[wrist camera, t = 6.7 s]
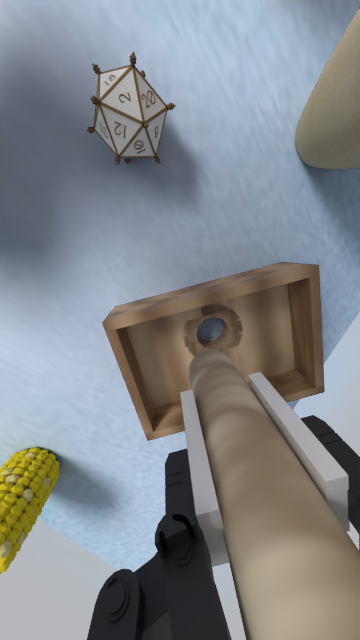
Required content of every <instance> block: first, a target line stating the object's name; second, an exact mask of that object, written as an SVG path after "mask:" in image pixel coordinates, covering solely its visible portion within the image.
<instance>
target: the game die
mask: <svg viewBox="0 0 360 640" xmlns="http://www.w3.org/2000/svg"><path fill="white" fill-rule="evenodd" d="M130 61H131V65H128V66H125V67H121V68H117V69H113V70H109V71H106V72H102V73H101V72H100V70H99V69H100V68H98V65H95V64H93V63H92V65H93V70H94V71H95V73H96V74H98V86H97V97H95V96H93V97H92V98H91V100H92V102H93V104H95V105H96V108H95V118H94V127H88V130H87V132H89V133H91V134H92V133H94V131H96V132H97V134H98V135H99V136H100V137H101V138H102V139H103V141H104V142H105V143H106V144H107V145H108V146H109V147H110V149H111V150H112V151H113V152H114V153H115V154H116V156H117V157H116V158H115V162H116V165H118V164H119V163H120V158H126V159H125V162H126V163H127V164H128V163H129V162H130V161H129V160H130V159H129V158H155V161H156V163H159V164H161V162H160V159H159V157H157V151H158V147H159V143H160V139H161V135H162V130H163V126H164V122H165V118H166V114H167V110H171V109H172V110H173V108H174V107H175V106H176V105H174V104H172V102H171V103H170V104H168V105H166V104H165V103H164V102H163V100H162V99H161V98H160V97H159V95H158V94H157V93H156V92H155V90H154V89H153V88H152V87H151V86H150V84H149V83H148V82H147V81H146V79H145V78H144V77H145V73H144V71H141V73H140V72H139V71H138V69H137V68H136V67H135V64H136V57H135V53H134V51H133V53H132V55H131V56H130Z"/></svg>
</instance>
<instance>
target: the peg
mask: <svg viewBox="0 0 360 640" xmlns="http://www.w3.org/2000/svg"><path fill="white" fill-rule="evenodd" d="M188 374H189V379H190V384H191V388H192V390H193V394H194V398H195V402H196V406H197V411H198V415H199V420H200V424H201V429H202V433H203V437H204V442H205V446H206V451H207V455H208V460H209V464H210V468H211V473H212V477H213V482H214V486H215V491H216V495H217V499H218V504H219V508H220V513H221V517H222V522H223V526H224V528H223V534H224V540H225V544H226V549H227V553H228V558H229V562H230V567H231V572H232V576H233V580H234V585H235V589H236V594H237V599H238V603H239V608H240V613H241V617H242V622H243V626H244V631H245V635H246V640H360V552H359V550H358V549H357V547H356V546H355V544H354V543H353V541H352V540H351V538H350V537H349V535H348V534H347V532H346V531H345V529H344V528H343V526H342V525H341V523H340V522H339V520H338V519H337V517H336V516H335V514H334V513H333V511H332V510H331V508H330V507H329V505H328V504H327V502H326V501H325V499H324V498H323V496H322V495H321V493H320V492H319V490H318V489H317V487H316V486H315V484H314V483H313V481H312V480H311V478H310V477H309V475H308V474H307V472H306V471H305V469H304V468H303V466H302V465H301V463H300V462H299V460H298V459H297V457H296V456H295V454H294V453H293V451H292V450H291V448H290V447H289V445H288V444H287V442H286V441H285V439H284V438H283V436H282V435H281V433H280V432H279V430H278V429H277V427H276V426H275V424H274V423H273V421H272V420H271V418H270V417H269V415H268V414H267V413H266V411H265V410H264V408H263V407H262V405H261V404H260V402H259V401H258V399H257V398H256V396H255V395H254V393H253V392H252V390H251V389H250V387H249V386H248V384H247V383H246V381H245V380H244V378H243V377H242V375H241V374H240V372H239V371H238V369H237V368H236V366H235V365H234V363H233V362H232V360H231V359H230V357H229V356H228V355H227V354H226V353H224V352H222V351H219V350H206V351H203V352H201V353H199V354H198V355H196V356H195V357H194V358H193V360H192V361H191V363H190V365H189V369H188Z"/></svg>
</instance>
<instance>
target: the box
mask: <svg viewBox="0 0 360 640" xmlns="http://www.w3.org/2000/svg"><path fill="white" fill-rule="evenodd" d="M213 317H216V318H220V319H223V323H224V329H223V332H222V334H221V335H220V336H219V337H218V338H217V339H216V340H213V341H209V342H206V341H202V340H200V339H199V338H198V337H197V336H196V333H197V329H198V326H199V325H200V324H201V323H202V322H203V321H204V320H205V319H209V318H213ZM102 324H103V326H104V329H105V331H106V334H107V337H108V339H109V342H110V344H111V347H112V350H113V352H114V355H115V357H116V360H117V363H118V365H119V368H120V370H121V373H122V376H123V378H124V381H125V383H126V386H127V389H128V391H129V394H130V396H131V399H132V402H133V404H134V407H135V409H136V412H137V415H138V417H139V420H140V422H141V425H142V428H143V430H144V433H145V435H146V438H147V440H148V441H149V440H153V439H156V438H160V437H164V436H167V435H171V434H174V433H178V432H182V431H185V426H184V418H183V411H182V403H181V395H180V392H184V391H188V390H192V388H191V384H190V379H189V374H188V369H189V365H190V363H191V361H192V360H193V358H194V357H195V356H196V355H198V354H199V353H201V352H203V351H206V350H219V351H222V352H224V353H226V354H227V355H228V356H229V357H230V359H231V360H232V362H233V363H234V365H235V366H236V368H237V369H238V371H239V372H240V374H241V375H242V377H243V378H244V380H245V381H246V383H247V384H248V386H249V387H250V382H249V376H248V375H250V374H254V373H258V372H261V373H262V374H263V376H264V377H265V378H266V379H267V380H268V382H269V383H270V384H271V385H272V386H273V387H274V389H275V390H276V391H277V392H278V393H279V394H280V396H281V397H282V398H283V399H284V400H285V402H286V403H287V402H290V401H294V400H297V399H301V398H305V397H308V396H312V395H316V394H319V393H323V392H324V369H323V346H322V323H321V300H320V277H319V265H314V264H300V263H287V262H281V263H277V264H273V265H270V266H266V267H262V268H258V269H255V270H251V271H247V272H243V273H240V274H236V275H232V276H228V277H224V278H221V279H217V280H213V281H209V282H206V283H202V284H198V285H194V286H191V287H187V288H183V289H179V290H176V291H172V292H168V293H164V294H161V295H157V296H153V297H149V298H145V299H142V300H138V301H134V302H130V303H127V304H123V305H119V306H115V307H114V309H113V310H112V311H111V312H110V314H109V315H108V316H107V317H106V319H105V320H104V321H103V322H102ZM250 389H251V388H250Z"/></svg>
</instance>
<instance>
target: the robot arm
mask: <svg viewBox="0 0 360 640" xmlns="http://www.w3.org/2000/svg"><path fill="white" fill-rule="evenodd" d="M248 376H249V382H250V388H251V390H252V392H253V393H254V395H255V396H256V398H257V399H258V401H259V402H260V404H261V405H262V407H263V408H264V410H265V411H266V413H267V414H268V415H269V417H270V418H271V420H272V421H273V423H274V424H275V426H276V427H277V429H278V430H279V432H280V433H281V435H282V436H283V438H284V439H285V441H286V442H287V444H288V445H289V447H290V448H291V450H292V451H293V453H294V454H295V456H296V457H297V459H298V460H299V462H300V463H301V465H302V466H303V468H304V469H305V471H306V472H307V474H308V475H309V477H310V478H311V480H312V481H313V483H314V484H315V486H316V487H317V489H318V490H319V492H320V493H321V495H322V496H323V498H324V499H325V501H326V502H327V504H328V505H329V507H330V508H331V510H332V511H333V513H334V514H335V516H336V517H337V519H338V520H339V522H340V523H341V525H342V526H343V528H344V529H345V531H346V532H347V531H349V521H350V522H351V523H352V525H353V526H354V528H355V529H356V530H357V532H358V533H359V543H360V457H359V456H358V455H357V454H356V453H355V452H354V451H353V450H352V449H351V448H350V447H349V446H348V445H347V444H346V443H345V442H344V441H343V440H342V439H341V437H340V436H339V435H338V434H337V433H335V432H334V430H333V429H332V428H331V427H330V426H328V424H326V422H324V421H323V420H321V419H319V418H317V417H315V416H314V415H312V416H308V417H304V418H301V419H300V418H299V417H298V416H297V414H296V413H295V412H294V411H293V410H292V409H291V407H290V406H289V405H288V404H287V403H286V402H285V400H284V399H283V398H282V397H281V396H280V394H279V393H278V392H277V391H276V390H275V389H274V387H273V386H272V385H271V384H270V383H269V382H268V380H267V379H266V378H265V377H264V376H263V374H262V373H261V372H258V373H254V374H250V375H248ZM180 395H181V403H182V411H183V418H184V426H185V434H186V442H187V449H184V450H180V451H176V452H172V453H169V455H168V458H167V460H166V463H165V477H166V478H165V486H166V488H165V503H166V515H165V516H164V517H163V518H162V520H161V521H160V522H159V524H158V527H157V530H156V533H155V546H156V548H157V550H158V552H157V553H156V555H155V556H154V557H153V558H152V559H151V560H150V561H148V562H147V563H146V564H144V565H143V566H142V567H140V568H139V569H138V570H136V571H135V572H134V573H133V572H132V571H131V570H129V569H121V570H119V571H116V572H114V573H113V574H112V575H111V576H110V577H109V578H108V579H107V580H106V582H105V583H104V585H103V587H102V589H101V590H100V592H99V595H98V598H97V601H96V604H95V607H94V612H93V616H92V620H91V625H90V629H89V633H88V638H87V640H231V636H230V633H229V629H228V626H227V622H226V619H225V615H224V612H223V609H222V605H221V602H220V598H219V595H218V591H217V588H216V585H215V582H214V577H213V570H212V566H213V567H214V566H217V565H221V564H225V563H229V558H228V553H227V549H226V544H225V540H224V534H223V528H224V526H223V522H222V517H221V513H220V508H219V504H218V499H217V495H216V491H215V486H214V482H213V477H212V473H211V468H210V464H209V460H208V455H207V451H206V446H205V442H204V437H203V433H202V429H201V424H200V420H199V415H198V411H197V406H196V402H195V398H194V394H193V390H188V391H184V392H180ZM359 547H360V544H359ZM359 552H360V548H359Z"/></svg>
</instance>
